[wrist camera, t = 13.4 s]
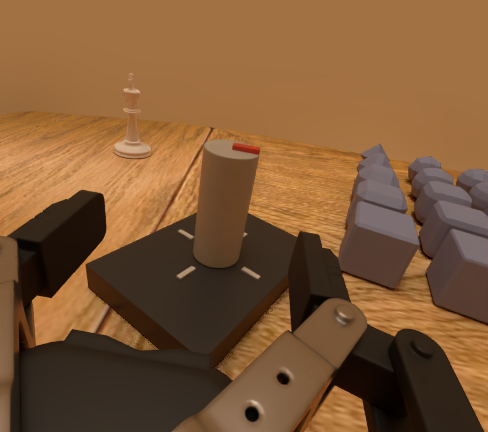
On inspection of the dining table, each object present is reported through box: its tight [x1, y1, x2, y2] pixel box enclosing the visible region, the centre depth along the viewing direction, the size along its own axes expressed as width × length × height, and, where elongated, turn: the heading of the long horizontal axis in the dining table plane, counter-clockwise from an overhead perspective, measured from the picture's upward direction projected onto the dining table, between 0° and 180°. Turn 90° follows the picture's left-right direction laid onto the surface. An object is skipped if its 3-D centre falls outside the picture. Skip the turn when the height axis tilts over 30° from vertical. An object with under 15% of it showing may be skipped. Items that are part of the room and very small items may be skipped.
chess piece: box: [114, 73, 151, 158], centre depth 39 cm, size 5×5×10 cm
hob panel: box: [86, 213, 297, 368], centre depth 23 cm, size 14×10×2 cm
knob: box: [193, 140, 260, 268], centre depth 20 cm, size 3×3×8 cm
